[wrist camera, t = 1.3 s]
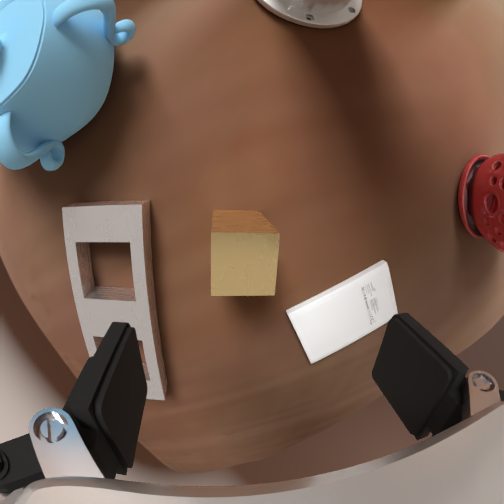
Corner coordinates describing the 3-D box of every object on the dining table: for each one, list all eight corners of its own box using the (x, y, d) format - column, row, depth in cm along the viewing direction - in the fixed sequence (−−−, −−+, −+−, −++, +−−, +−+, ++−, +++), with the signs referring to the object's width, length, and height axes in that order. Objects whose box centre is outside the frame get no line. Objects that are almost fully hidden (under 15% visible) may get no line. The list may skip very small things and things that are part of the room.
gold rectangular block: (213, 209, 25) (211, 232, 17) (258, 210, 26) (279, 233, 17) (212, 253, 26) (211, 295, 18) (256, 254, 27) (274, 295, 19)
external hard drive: (284, 307, 30) (380, 257, 30) (307, 357, 32) (392, 311, 32) (287, 315, 28) (388, 262, 28) (311, 365, 31) (399, 317, 31)
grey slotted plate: (76, 202, 23) (62, 207, 20) (150, 200, 24) (141, 204, 21) (108, 377, 30) (102, 393, 27) (167, 383, 31) (164, 400, 28)
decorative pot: (-9, 120, 18) (-87, 119, 5) (66, 5, 15) (10, -44, 2) (69, 185, 23) (-25, 210, 10) (162, 48, 20) (123, -31, 7)
